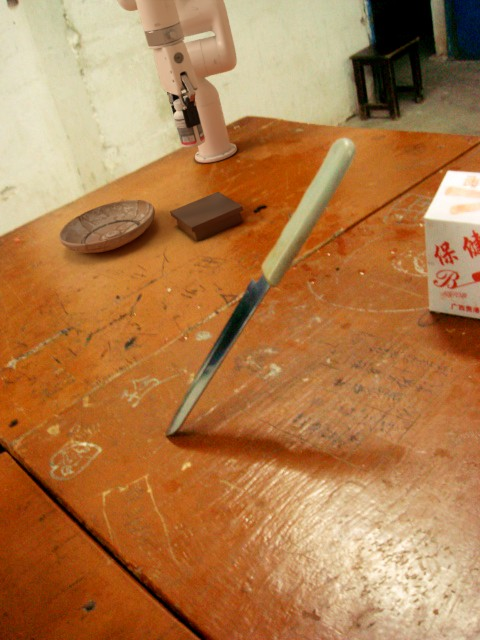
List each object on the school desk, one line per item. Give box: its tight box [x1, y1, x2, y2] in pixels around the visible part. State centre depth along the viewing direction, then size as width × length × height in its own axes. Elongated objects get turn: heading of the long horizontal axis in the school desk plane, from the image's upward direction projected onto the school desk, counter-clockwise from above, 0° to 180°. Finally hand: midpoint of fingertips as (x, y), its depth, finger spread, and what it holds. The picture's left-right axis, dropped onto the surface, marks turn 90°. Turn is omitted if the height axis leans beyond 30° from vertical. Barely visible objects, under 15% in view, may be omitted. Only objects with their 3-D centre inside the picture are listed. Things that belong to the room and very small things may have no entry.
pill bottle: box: [173, 97, 205, 149], centre depth 139 cm, size 5×5×10 cm
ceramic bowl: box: [58, 199, 156, 254], centre depth 153 cm, size 23×24×5 cm
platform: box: [169, 191, 244, 242], centre depth 148 cm, size 13×13×4 cm
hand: (188, 122), depth 139 cm, fingers closed on pill bottle, 5 cm apart
